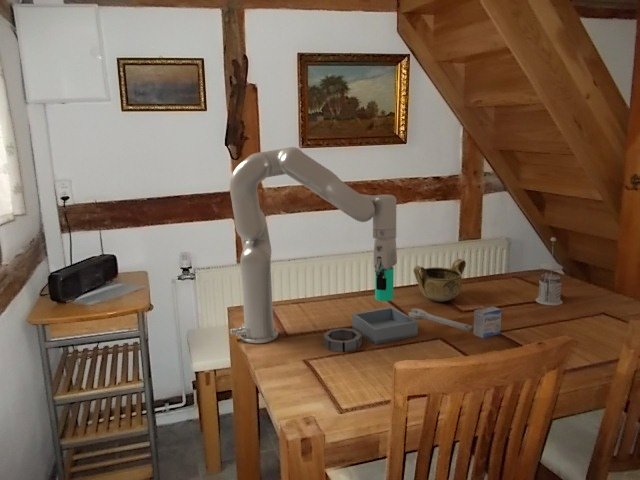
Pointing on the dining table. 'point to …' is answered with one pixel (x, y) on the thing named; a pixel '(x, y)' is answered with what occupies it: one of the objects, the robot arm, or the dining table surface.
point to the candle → (388, 293)
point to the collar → (341, 346)
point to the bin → (384, 325)
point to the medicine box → (487, 322)
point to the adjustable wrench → (438, 319)
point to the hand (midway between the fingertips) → (384, 286)
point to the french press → (549, 284)
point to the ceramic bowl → (440, 281)
